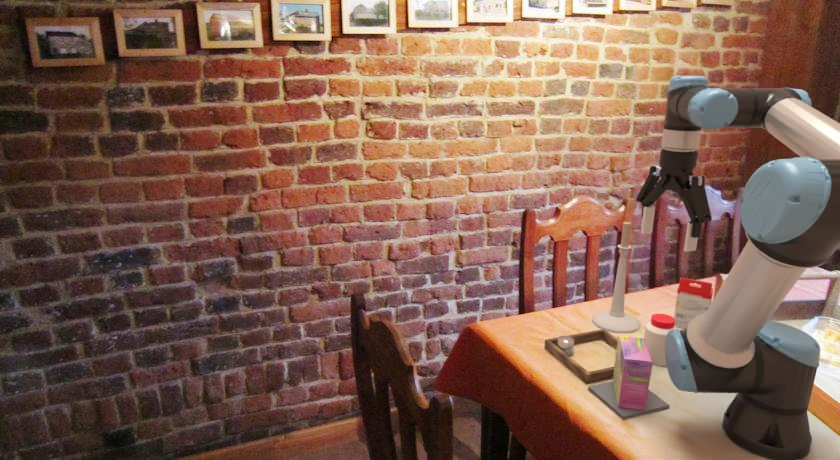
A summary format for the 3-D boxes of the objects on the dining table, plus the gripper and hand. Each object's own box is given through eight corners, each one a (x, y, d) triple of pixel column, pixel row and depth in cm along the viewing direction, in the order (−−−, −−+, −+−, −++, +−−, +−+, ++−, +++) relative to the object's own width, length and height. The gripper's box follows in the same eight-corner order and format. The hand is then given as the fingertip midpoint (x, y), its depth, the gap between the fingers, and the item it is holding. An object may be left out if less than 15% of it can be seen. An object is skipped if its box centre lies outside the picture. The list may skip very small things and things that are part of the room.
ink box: (707, 327, 161) (715, 278, 156) (705, 334, 157) (713, 283, 152) (675, 319, 165) (682, 271, 161) (672, 326, 161) (679, 277, 157)
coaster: (669, 408, 123) (669, 405, 123) (623, 419, 120) (623, 416, 119) (631, 379, 134) (631, 376, 134) (588, 389, 130) (588, 386, 130)
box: (646, 411, 121) (653, 361, 118) (617, 408, 122) (623, 358, 119) (638, 384, 131) (644, 337, 127) (612, 382, 132) (617, 335, 128)
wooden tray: (649, 370, 138) (650, 361, 138) (586, 384, 132) (587, 374, 132) (602, 337, 155) (603, 329, 154) (544, 348, 149) (545, 339, 148)
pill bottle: (679, 357, 144) (685, 317, 141) (667, 369, 139) (673, 328, 135) (648, 347, 149) (653, 308, 146) (636, 358, 144) (641, 318, 141)
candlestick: (589, 328, 160) (599, 224, 151) (595, 310, 171) (604, 212, 162) (638, 336, 155) (652, 230, 146) (640, 317, 166) (653, 217, 157)
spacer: (576, 355, 145) (577, 341, 144) (562, 358, 144) (563, 344, 143) (567, 348, 149) (568, 334, 147) (553, 351, 147) (554, 337, 146)
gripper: (740, 157, 115) (724, 256, 122) (652, 140, 138) (642, 225, 144) (712, 159, 113) (696, 260, 119) (627, 141, 135) (617, 228, 142)
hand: (667, 241), depth 132 cm, fingers open, 13 cm apart
